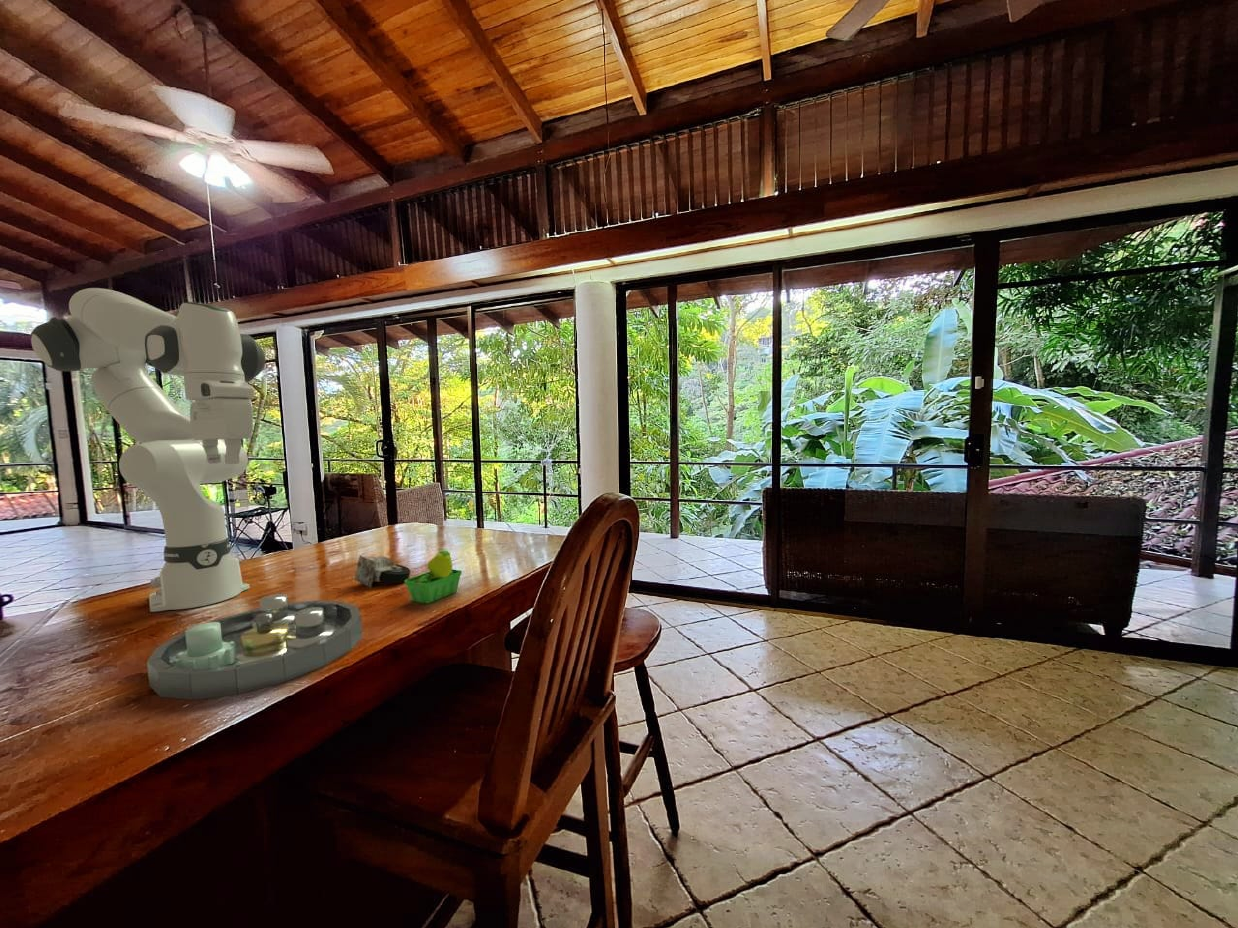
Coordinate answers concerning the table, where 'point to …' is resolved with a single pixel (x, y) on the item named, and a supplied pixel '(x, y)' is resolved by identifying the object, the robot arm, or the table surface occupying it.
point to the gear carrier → (261, 648)
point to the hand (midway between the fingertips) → (223, 463)
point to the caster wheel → (380, 571)
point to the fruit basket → (435, 580)
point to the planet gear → (205, 648)
